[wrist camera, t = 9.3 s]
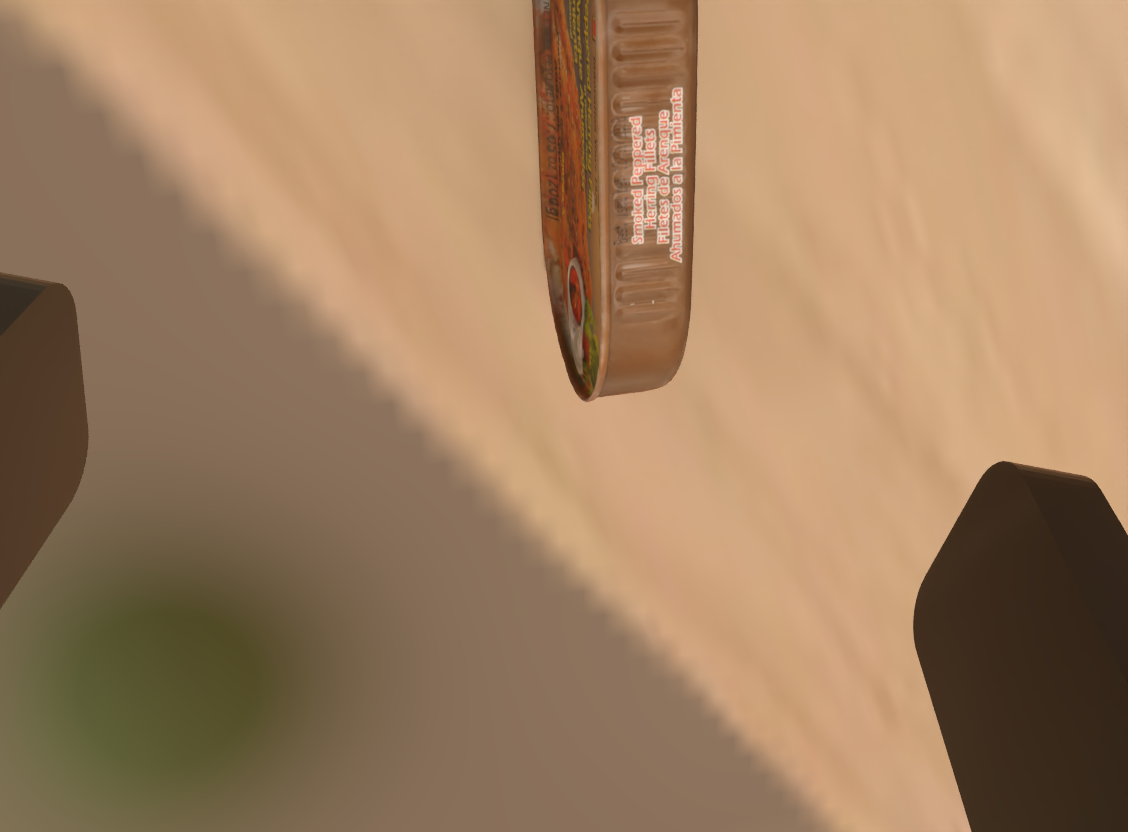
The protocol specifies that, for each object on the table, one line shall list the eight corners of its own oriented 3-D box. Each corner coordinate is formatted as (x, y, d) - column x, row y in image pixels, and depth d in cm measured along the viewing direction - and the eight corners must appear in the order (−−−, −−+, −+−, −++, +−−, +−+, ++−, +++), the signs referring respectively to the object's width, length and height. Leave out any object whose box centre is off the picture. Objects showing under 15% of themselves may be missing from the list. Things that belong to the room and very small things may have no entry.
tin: (525, -161, 29) (564, -172, 21) (636, -165, 29) (714, -176, 22) (545, 334, 36) (581, 455, 28) (634, 327, 36) (692, 445, 29)
